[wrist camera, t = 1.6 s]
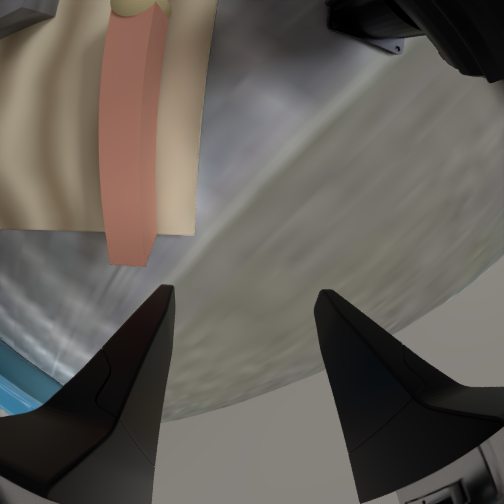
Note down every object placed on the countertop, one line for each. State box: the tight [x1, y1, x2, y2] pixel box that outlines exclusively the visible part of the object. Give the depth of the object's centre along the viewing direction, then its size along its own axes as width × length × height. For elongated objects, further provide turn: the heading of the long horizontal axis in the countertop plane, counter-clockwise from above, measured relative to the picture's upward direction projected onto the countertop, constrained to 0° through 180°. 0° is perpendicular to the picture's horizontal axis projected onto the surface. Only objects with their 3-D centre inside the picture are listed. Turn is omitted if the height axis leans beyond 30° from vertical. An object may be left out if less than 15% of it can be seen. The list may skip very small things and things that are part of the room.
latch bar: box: [99, 0, 172, 267], centre depth 13 cm, size 17×3×4 cm, turn 173°
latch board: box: [0, 0, 218, 236], centre depth 12 cm, size 22×20×6 cm
